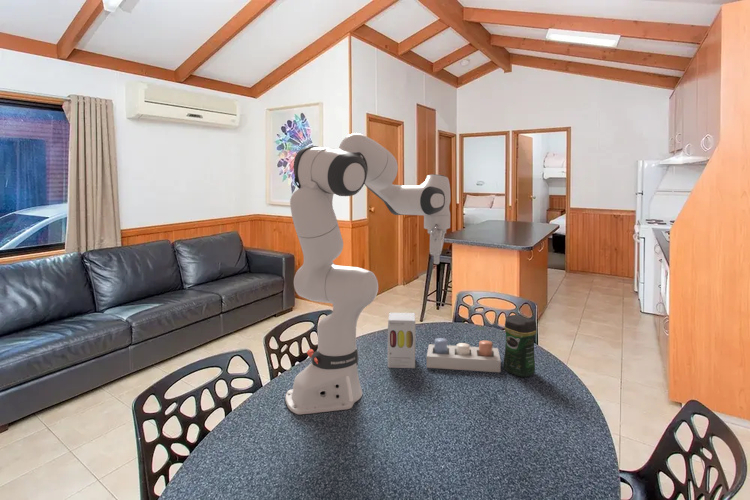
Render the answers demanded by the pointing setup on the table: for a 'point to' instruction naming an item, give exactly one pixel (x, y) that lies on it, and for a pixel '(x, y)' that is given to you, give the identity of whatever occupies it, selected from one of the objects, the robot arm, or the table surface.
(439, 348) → the slate blue key
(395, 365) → the supplement box
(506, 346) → the coffee jar
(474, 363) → the white boxy piece
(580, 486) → the table surface
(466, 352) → the ivory key
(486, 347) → the terracotta key
